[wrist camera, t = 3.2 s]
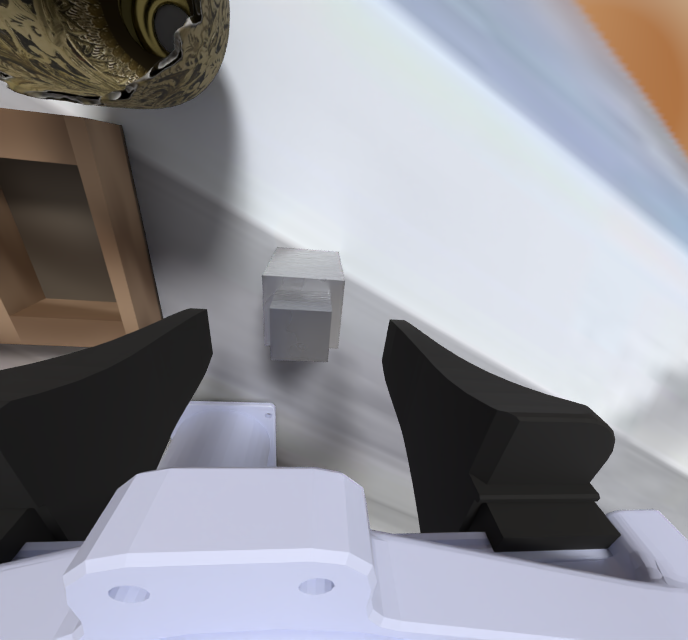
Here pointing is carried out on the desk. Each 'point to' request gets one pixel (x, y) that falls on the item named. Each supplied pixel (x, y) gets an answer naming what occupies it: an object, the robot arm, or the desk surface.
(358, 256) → the desk surface
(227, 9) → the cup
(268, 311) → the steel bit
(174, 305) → the desk surface
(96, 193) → the socket board
